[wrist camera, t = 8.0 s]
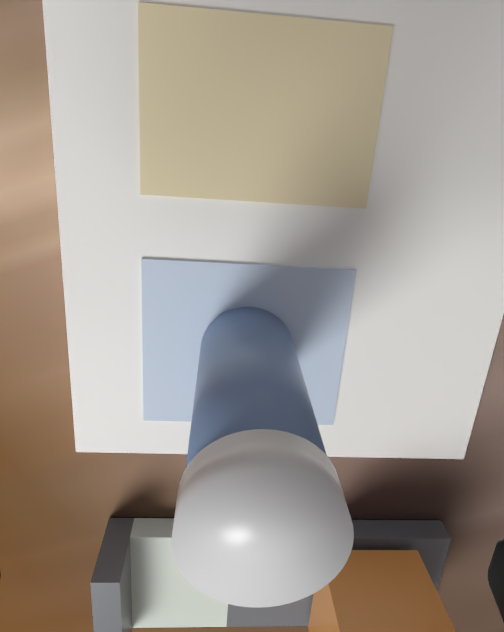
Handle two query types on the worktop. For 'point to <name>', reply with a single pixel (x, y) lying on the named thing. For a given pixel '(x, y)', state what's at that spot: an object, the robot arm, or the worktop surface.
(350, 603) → the orange cube
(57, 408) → the worktop surface
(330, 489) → the marker
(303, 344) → the sheet
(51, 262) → the worktop surface
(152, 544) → the switch base
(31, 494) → the worktop surface
